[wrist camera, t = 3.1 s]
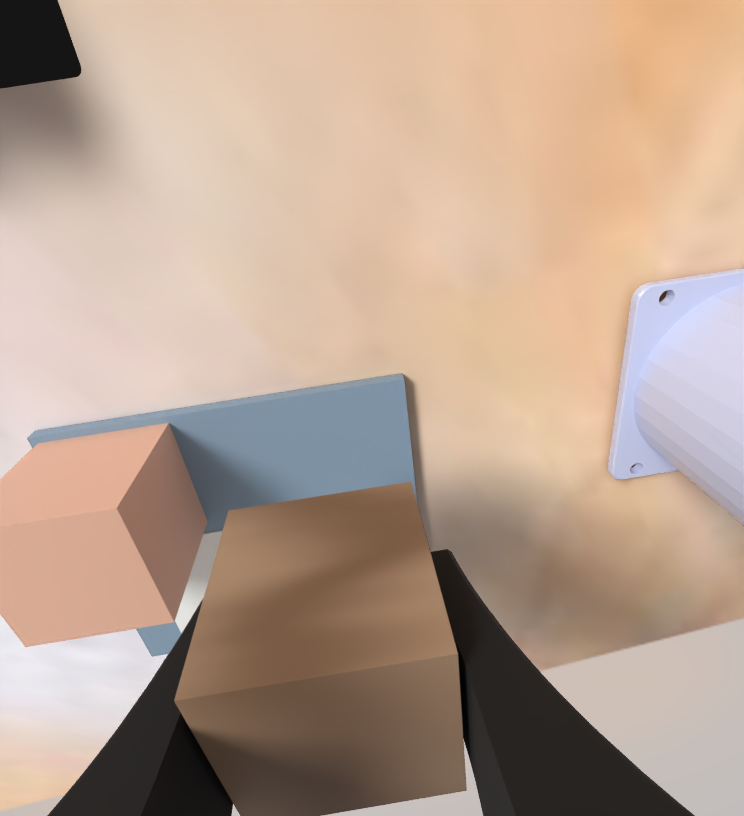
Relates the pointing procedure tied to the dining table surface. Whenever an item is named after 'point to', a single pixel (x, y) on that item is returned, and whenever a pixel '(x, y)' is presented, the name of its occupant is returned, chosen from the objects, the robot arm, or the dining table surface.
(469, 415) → the dining table surface
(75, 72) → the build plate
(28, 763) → the dining table surface
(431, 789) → the walnut block
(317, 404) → the plate
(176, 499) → the terracotta block
